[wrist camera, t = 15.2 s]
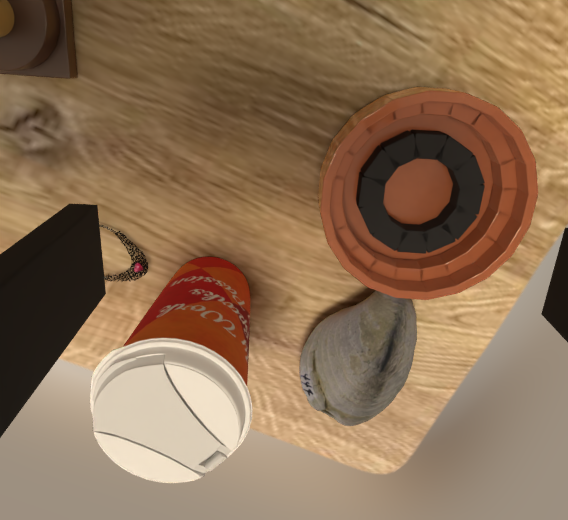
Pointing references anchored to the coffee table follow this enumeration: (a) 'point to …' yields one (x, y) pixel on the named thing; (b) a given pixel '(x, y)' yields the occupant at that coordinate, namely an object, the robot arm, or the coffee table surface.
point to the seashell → (359, 358)
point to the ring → (451, 217)
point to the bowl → (428, 192)
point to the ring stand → (37, 38)
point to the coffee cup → (179, 378)
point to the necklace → (137, 266)
